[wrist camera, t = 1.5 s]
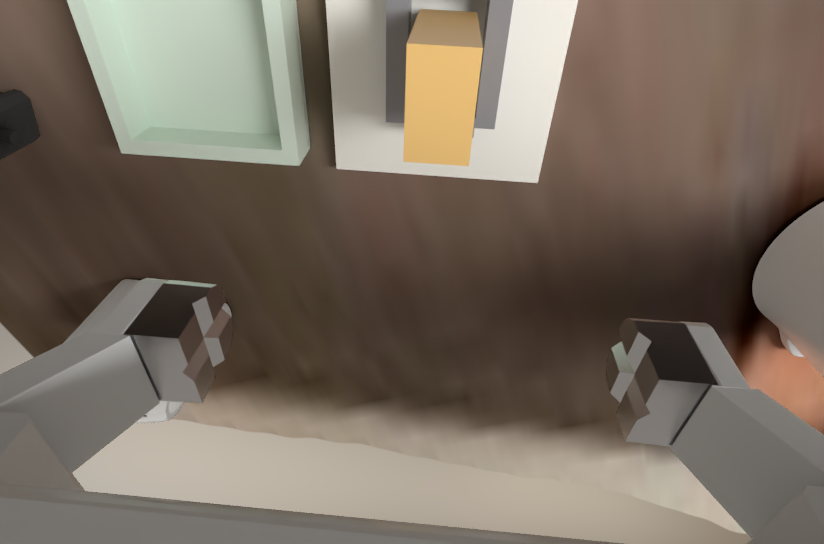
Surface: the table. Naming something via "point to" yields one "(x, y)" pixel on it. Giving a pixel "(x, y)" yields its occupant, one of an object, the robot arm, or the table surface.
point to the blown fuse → (441, 87)
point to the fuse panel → (497, 91)
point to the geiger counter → (16, 122)
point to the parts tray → (199, 77)
